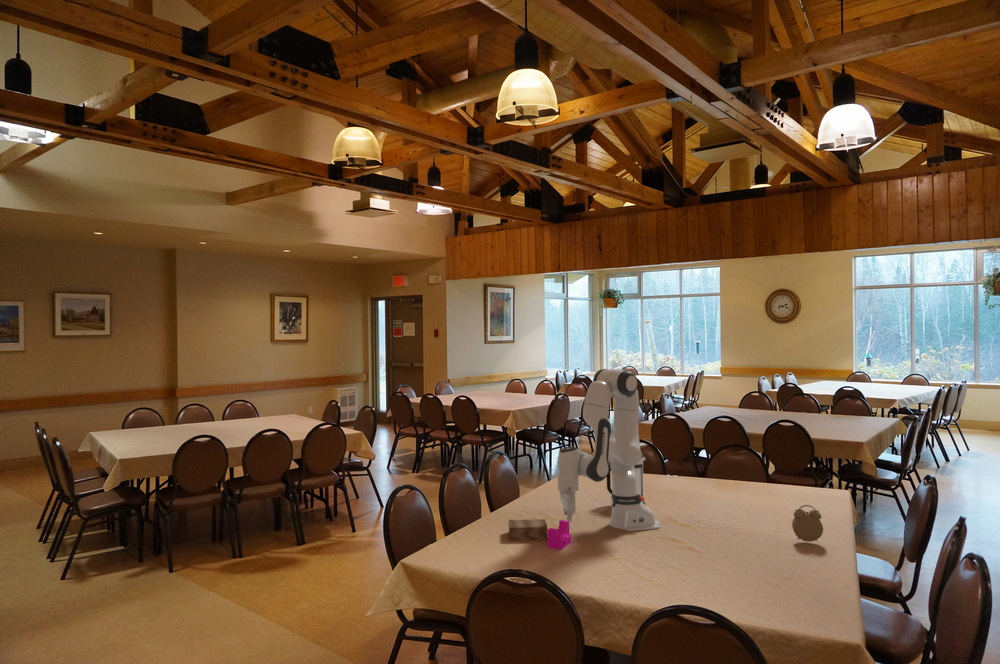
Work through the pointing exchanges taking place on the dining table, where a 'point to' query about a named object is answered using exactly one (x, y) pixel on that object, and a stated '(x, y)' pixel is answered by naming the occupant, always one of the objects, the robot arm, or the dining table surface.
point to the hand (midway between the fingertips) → (567, 517)
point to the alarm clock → (807, 524)
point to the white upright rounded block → (639, 475)
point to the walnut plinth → (528, 529)
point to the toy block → (559, 536)
